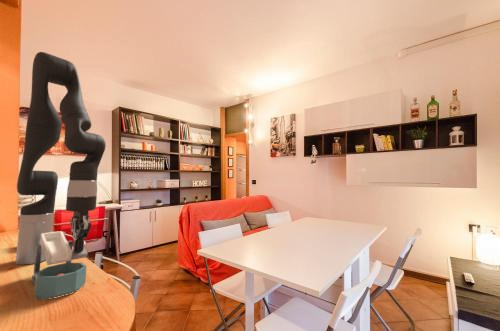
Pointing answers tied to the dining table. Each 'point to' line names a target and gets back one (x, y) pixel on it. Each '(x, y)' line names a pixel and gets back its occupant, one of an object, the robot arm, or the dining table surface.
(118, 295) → the dining table surface
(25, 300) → the dining table surface
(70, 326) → the dining table surface
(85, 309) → the dining table surface
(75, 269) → the teal octagonal bowl
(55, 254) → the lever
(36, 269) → the lever stand
